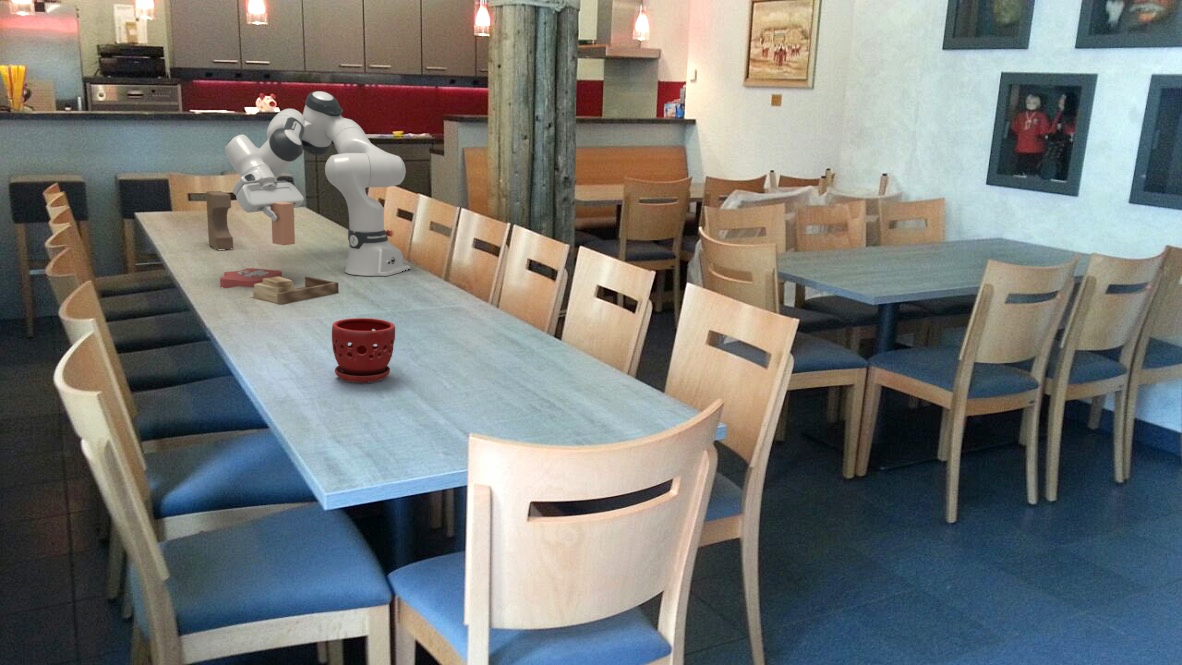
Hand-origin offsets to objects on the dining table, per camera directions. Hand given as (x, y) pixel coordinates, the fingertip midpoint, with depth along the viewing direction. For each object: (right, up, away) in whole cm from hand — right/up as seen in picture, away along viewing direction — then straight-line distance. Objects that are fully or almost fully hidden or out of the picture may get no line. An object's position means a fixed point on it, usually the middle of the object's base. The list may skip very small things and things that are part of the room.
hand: (284, 219), depth 274 cm
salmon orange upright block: (-1, -7, +2) cm, 7 cm away
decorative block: (-45, -3, +67) cm, 80 cm away
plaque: (-15, -19, +13) cm, 27 cm away
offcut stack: (+1, -24, -10) cm, 26 cm away
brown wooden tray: (+4, -23, -4) cm, 24 cm away
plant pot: (+41, -43, -72) cm, 93 cm away
